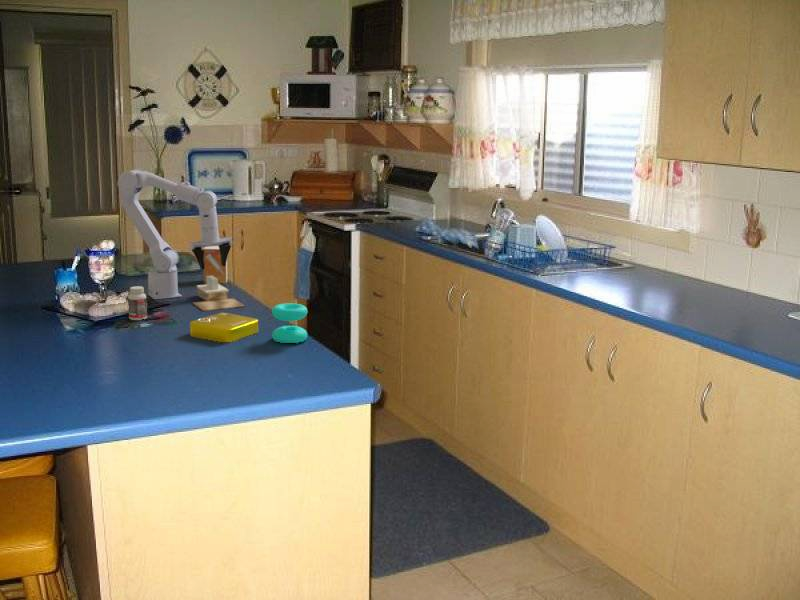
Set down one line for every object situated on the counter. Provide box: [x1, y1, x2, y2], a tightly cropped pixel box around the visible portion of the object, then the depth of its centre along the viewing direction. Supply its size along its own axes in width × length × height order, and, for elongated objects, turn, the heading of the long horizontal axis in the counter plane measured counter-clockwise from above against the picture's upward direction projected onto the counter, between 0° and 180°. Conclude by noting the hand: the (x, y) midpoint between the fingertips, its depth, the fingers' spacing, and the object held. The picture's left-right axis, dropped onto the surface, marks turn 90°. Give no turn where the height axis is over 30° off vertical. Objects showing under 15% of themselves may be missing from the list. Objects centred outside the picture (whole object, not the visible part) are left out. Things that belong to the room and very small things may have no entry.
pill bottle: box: [127, 285, 148, 321], centre depth 258 cm, size 5×5×10 cm
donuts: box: [271, 302, 308, 344], centre depth 240 cm, size 10×10×10 cm
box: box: [197, 288, 229, 301], centre depth 287 cm, size 7×10×3 cm
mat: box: [192, 297, 246, 312], centre depth 277 cm, size 14×11×1 cm
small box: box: [203, 245, 228, 285], centre depth 309 cm, size 8×6×13 cm
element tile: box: [189, 311, 259, 343], centre depth 245 cm, size 15×15×5 cm
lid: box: [196, 276, 230, 294], centre depth 286 cm, size 8×11×5 cm
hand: (213, 267), depth 285 cm, fingers open, 7 cm apart
